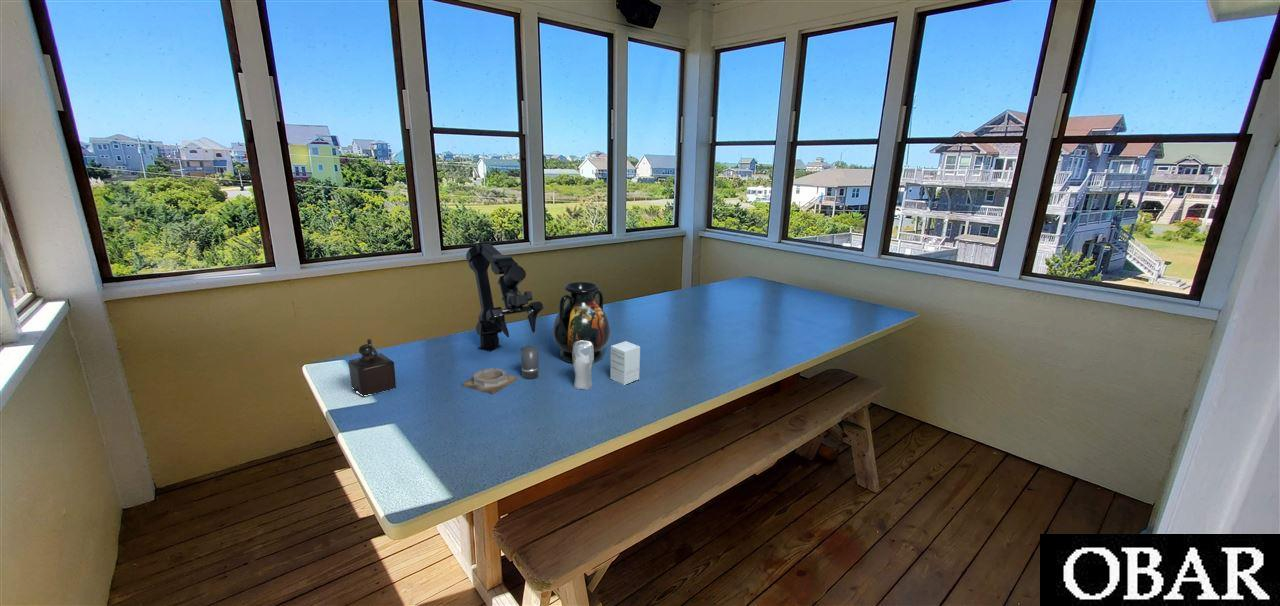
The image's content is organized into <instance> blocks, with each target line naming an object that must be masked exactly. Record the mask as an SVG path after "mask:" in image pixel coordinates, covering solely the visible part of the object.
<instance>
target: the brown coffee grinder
mask: <svg viewBox="0 0 1280 606" xmlns="http://www.w3.org/2000/svg"><path fill="white" fill-rule="evenodd" d="M372 341H373V340H372V339H371V338H369V339H367V341H366V342H367V343H364V344H362V345H360V346H359V348H358V353H359V354H360V355H361V356H360V357H358V358H353V359H350V360H348V363H347V364H348V369H349V371H348V372H349V377H350V378H349V379H350V387H351V386H352V387H353V388H354V389H352V390H354V391H355V392H356V391H358V392H359V393H360V394H362V395H363V396H364V395H368V394H374V393H379V392H382V391H386V390H390V389H393V388H395V389H397V385H396V383H397V382H396V370H395V369H396V368H395V362H394V361H393V360H392V359H390V358H389V357H388V356H386V355H384V354H383V353H382V352H378V351H377V349H376V348H375V347H374V346H373V343H372ZM393 390H394V389H393ZM354 391H353V392H354ZM390 391H391V390H390ZM355 392H354V393H355ZM379 394H380V393H379Z"/></svg>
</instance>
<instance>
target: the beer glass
mask: <svg viewBox="0 0 1280 606" xmlns="http://www.w3.org/2000/svg"><path fill="white" fill-rule="evenodd" d="M572 358H573V363H572V365H573V371H574V382H573V387H574V388H575V389H576V388H577V390H579V389H586V390H589V389H591V388H592V387H593V382H592V372H593V371H592V370H593V367H594V366H593V365H594V362H593V360H594V349H593V343H592V342H591V341H586V340H581V341H576V342H574V343H573V353H572ZM590 387H591V388H590ZM588 388H589V389H588Z"/></svg>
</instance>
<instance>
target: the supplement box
mask: <svg viewBox="0 0 1280 606" xmlns="http://www.w3.org/2000/svg"><path fill="white" fill-rule="evenodd" d="M640 362H641V346H639V345H637V344H634V343H632V342H629V341H627V340H625V341H622V342H619V343H616V344H615V343H614V344H613V345H610V374H609V375H610V376H609V377H610V380H611V379H612V380H614V381H617V382H619V383H621V384H623V385H626V384H628V383H631V382H633V381H635V380H638V379H639V380H640V365H641V363H640ZM612 380H611V381H612ZM614 381H613V382H614ZM619 383H618V384H619ZM621 384H620V385H621ZM631 384H632V383H631ZM623 385H622V386H623ZM626 386H627V385H626Z"/></svg>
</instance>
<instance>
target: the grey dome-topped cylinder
mask: <svg viewBox="0 0 1280 606" xmlns="http://www.w3.org/2000/svg"><path fill="white" fill-rule="evenodd" d="M520 354H521V355H520V357H521V378H523V379H525V380H535V379H537V378H539V376H540V375H539V373H540V372H539V348H538V346H535V345H526V346H523V347H521V349H520Z"/></svg>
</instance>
